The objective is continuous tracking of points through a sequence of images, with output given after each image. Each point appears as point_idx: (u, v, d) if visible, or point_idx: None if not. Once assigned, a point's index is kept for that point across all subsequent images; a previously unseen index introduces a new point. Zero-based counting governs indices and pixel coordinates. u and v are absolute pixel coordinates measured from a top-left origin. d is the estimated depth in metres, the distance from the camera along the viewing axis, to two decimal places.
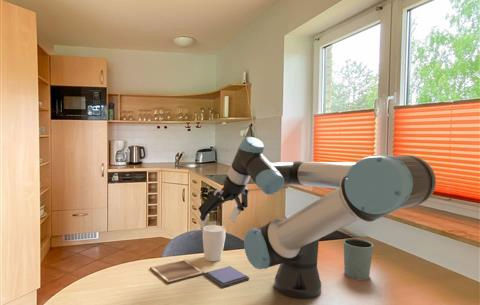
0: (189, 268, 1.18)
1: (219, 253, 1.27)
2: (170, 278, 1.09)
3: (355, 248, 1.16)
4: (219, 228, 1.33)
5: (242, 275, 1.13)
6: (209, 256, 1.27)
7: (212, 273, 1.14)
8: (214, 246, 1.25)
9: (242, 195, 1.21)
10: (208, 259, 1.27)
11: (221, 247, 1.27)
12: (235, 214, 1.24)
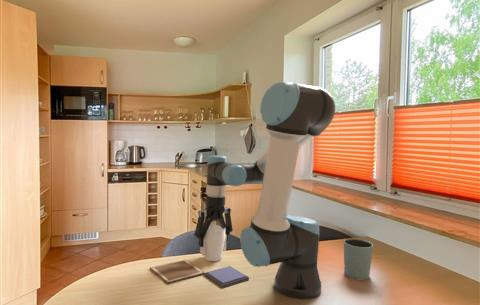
0: (189, 268, 1.18)
1: (219, 253, 1.27)
2: (170, 278, 1.09)
3: (355, 248, 1.16)
4: (219, 227, 1.33)
5: (242, 275, 1.13)
6: (209, 256, 1.27)
7: (212, 273, 1.14)
8: (214, 246, 1.26)
9: (226, 217, 1.33)
10: (208, 259, 1.27)
11: (221, 247, 1.27)
12: None
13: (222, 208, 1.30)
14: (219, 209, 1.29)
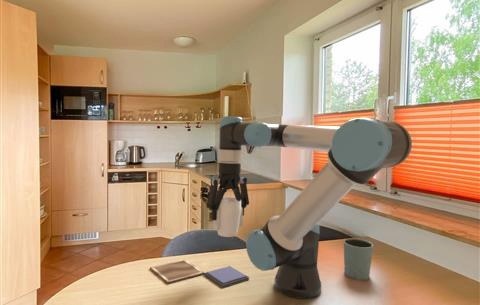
0: (189, 268, 1.18)
1: (235, 227, 1.12)
2: (170, 278, 1.09)
3: (355, 248, 1.16)
4: (234, 200, 1.18)
5: (242, 275, 1.13)
6: (223, 230, 1.11)
7: (212, 273, 1.14)
8: (229, 219, 1.10)
9: (241, 188, 1.17)
10: (222, 234, 1.11)
11: (237, 221, 1.12)
12: None
13: (237, 177, 1.14)
14: (234, 178, 1.13)
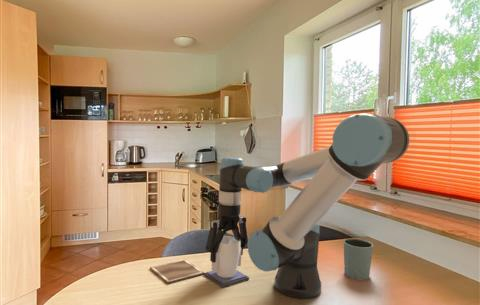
0: (189, 268, 1.18)
1: (234, 268, 1.11)
2: (170, 278, 1.09)
3: (355, 248, 1.16)
4: (233, 238, 1.17)
5: (242, 275, 1.13)
6: (222, 271, 1.10)
7: (212, 273, 1.14)
8: (228, 260, 1.09)
9: (240, 227, 1.17)
10: (221, 275, 1.11)
11: (236, 261, 1.11)
12: None
13: (237, 217, 1.13)
14: (233, 219, 1.12)
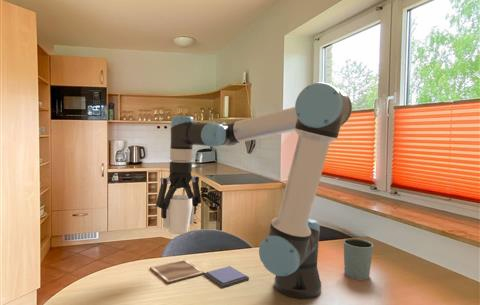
0: (189, 268, 1.18)
1: (185, 225, 1.13)
2: (170, 278, 1.09)
3: (355, 248, 1.16)
4: (187, 197, 1.19)
5: (242, 275, 1.13)
6: (173, 228, 1.12)
7: (212, 273, 1.14)
8: (178, 216, 1.11)
9: (193, 187, 1.18)
10: (172, 231, 1.13)
11: (187, 218, 1.13)
12: (191, 213, 1.17)
13: (188, 176, 1.15)
14: (185, 177, 1.14)
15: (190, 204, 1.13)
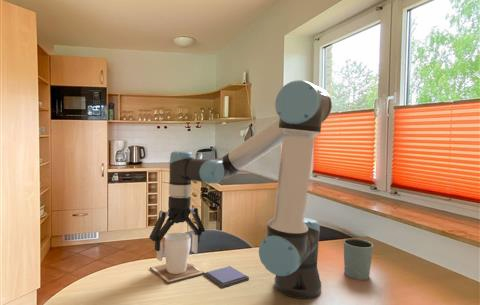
0: (189, 268, 1.18)
1: (183, 265, 1.13)
2: (170, 278, 1.09)
3: (355, 248, 1.16)
4: (185, 236, 1.19)
5: (242, 275, 1.13)
6: (170, 268, 1.13)
7: (212, 273, 1.14)
8: (176, 257, 1.12)
9: (194, 218, 1.20)
10: (170, 271, 1.13)
11: (185, 258, 1.13)
12: (195, 242, 1.19)
13: (187, 210, 1.16)
14: (183, 212, 1.15)
15: (188, 244, 1.14)
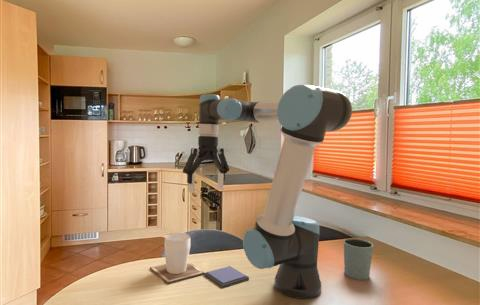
0: (189, 268, 1.18)
1: (183, 265, 1.13)
2: (170, 278, 1.09)
3: (355, 248, 1.16)
4: (185, 236, 1.19)
5: (242, 275, 1.13)
6: (170, 268, 1.13)
7: (212, 273, 1.14)
8: (176, 257, 1.12)
9: (220, 158, 1.32)
10: (170, 271, 1.13)
11: (185, 258, 1.13)
12: (221, 179, 1.31)
13: (215, 149, 1.28)
14: (212, 151, 1.27)
15: (188, 244, 1.14)
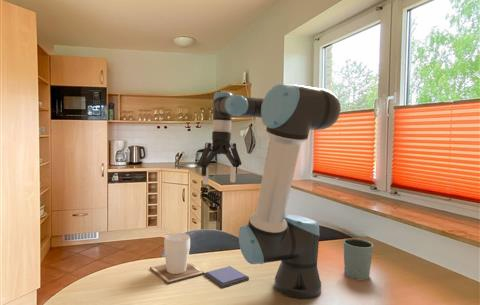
0: (189, 268, 1.18)
1: (183, 265, 1.13)
2: (170, 278, 1.09)
3: (355, 248, 1.16)
4: (185, 236, 1.19)
5: (242, 275, 1.13)
6: (170, 268, 1.13)
7: (212, 273, 1.14)
8: (176, 256, 1.12)
9: (233, 152, 1.39)
10: (170, 271, 1.13)
11: (184, 258, 1.13)
12: (233, 173, 1.38)
13: (227, 144, 1.35)
14: (225, 145, 1.34)
15: (188, 244, 1.14)
